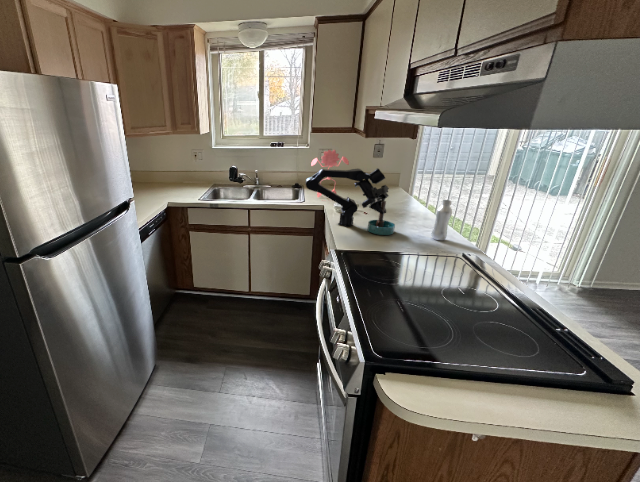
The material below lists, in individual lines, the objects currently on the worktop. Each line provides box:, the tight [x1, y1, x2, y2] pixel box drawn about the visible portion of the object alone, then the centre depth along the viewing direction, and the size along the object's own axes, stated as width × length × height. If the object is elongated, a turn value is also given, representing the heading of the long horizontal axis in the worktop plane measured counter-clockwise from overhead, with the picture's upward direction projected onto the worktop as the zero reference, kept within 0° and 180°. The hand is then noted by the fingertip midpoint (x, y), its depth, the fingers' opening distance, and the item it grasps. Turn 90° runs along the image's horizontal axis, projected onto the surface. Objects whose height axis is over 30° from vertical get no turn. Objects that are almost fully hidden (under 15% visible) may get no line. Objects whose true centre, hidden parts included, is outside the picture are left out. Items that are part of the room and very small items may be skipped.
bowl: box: [366, 219, 396, 236], centre depth 170 cm, size 13×13×4 cm
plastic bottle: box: [430, 199, 453, 241], centre depth 156 cm, size 6×7×20 cm
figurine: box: [310, 149, 350, 201], centre depth 227 cm, size 15×26×35 cm, turn 76°
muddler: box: [376, 200, 387, 227], centre depth 169 cm, size 4×4×14 cm
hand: (384, 213), depth 168 cm, fingers closed on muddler, 2 cm apart
